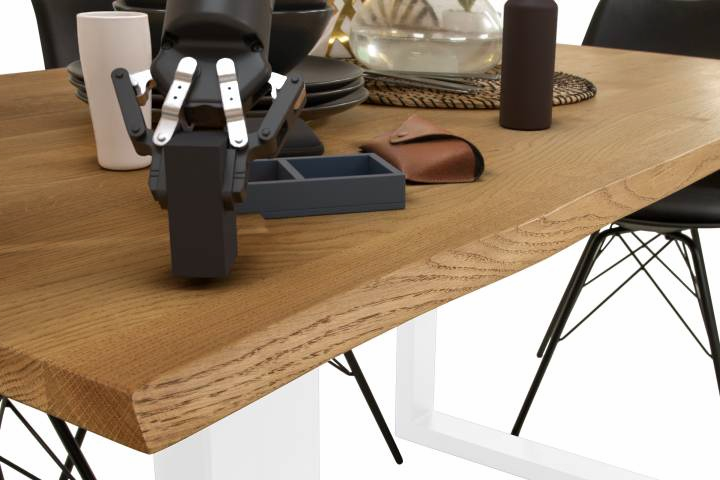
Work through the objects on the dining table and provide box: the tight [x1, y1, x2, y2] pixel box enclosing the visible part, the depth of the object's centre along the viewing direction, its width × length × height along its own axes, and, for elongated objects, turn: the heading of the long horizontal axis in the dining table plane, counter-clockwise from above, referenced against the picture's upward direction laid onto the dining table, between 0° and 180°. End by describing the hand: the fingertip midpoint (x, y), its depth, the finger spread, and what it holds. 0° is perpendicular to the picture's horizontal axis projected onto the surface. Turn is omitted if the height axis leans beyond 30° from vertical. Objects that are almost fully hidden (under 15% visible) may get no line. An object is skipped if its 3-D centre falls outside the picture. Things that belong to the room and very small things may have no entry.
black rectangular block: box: [163, 130, 239, 279], centre depth 69 cm, size 4×5×9 cm
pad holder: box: [236, 152, 406, 220], centre depth 90 cm, size 10×18×3 cm, turn 111°
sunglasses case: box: [358, 112, 486, 185], centre depth 106 cm, size 18×7×7 cm, turn 22°
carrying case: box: [223, 117, 325, 159], centre depth 109 cm, size 11×3×15 cm
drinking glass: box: [76, 11, 153, 171], centre depth 100 cm, size 7×7×15 cm
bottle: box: [498, 0, 559, 131], centre depth 126 cm, size 7×7×20 cm
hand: (196, 203), depth 67 cm, fingers closed on black rectangular block, 3 cm apart
